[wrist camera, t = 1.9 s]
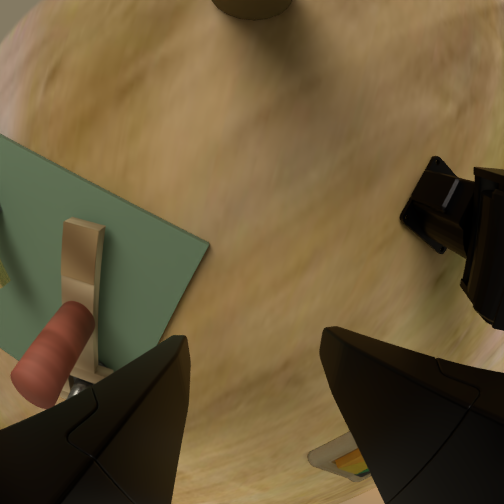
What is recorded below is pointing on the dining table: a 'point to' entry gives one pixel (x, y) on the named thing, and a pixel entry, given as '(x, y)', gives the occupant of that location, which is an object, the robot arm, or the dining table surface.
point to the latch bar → (68, 323)
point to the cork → (252, 8)
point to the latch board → (112, 266)
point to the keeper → (3, 271)
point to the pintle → (81, 384)
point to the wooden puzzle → (340, 458)
